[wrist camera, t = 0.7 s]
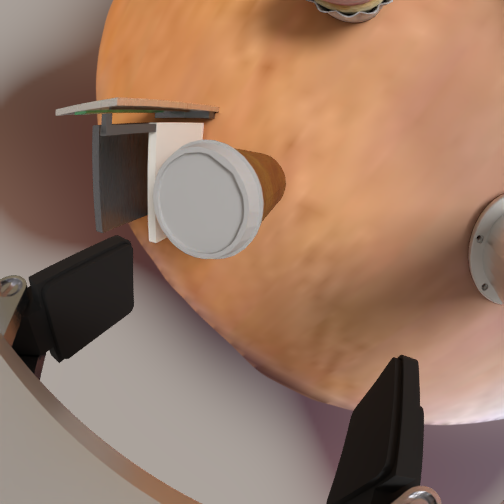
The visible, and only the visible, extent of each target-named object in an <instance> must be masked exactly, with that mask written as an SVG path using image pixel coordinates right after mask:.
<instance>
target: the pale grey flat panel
mask: <svg viewBox="0 0 504 504" xmlns="http://www.w3.org/2000/svg"><path fill="white" fill-rule="evenodd" d="M203 127H204V123H176V122H160V123H149V124H127V125H112V113H106V114H102V125H101V133H100V136H109V135H120V134H132V133H146V132H149V143H148V230H149V241H151V242H154V243H157V242H159V241H161V240H163V239H165V238H167V236H166V234H165V233H164V232H163V230H162V229H161V226H160V224H159V222H158V220H157V217H156V214H155V209H154V204H153V189H154V183H155V179H156V176H157V174H158V171H159V170H160V168H161V166H162V164H163V163H164V162H165V161H166V160H167V159H168V158H169V157H170V156H171V155H172V154H173V153H174V152H175V151H177V150H178V149H179V148H180V147H181V146H183V145H186V144H188V143H190V142H193V141H197V140H203Z"/></svg>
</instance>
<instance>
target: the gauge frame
mask: <svg viewBox="0 0 504 504" xmlns="http://www.w3.org/2000/svg"><path fill="white" fill-rule="evenodd" d="M215 112H219V107H217V106H210V105H203V104H195V103H186V102H177V101H166V100H154V99H138V98H112V99H106V100H100V101H95V102H89V103H84V104H79V105H74V106H70V107H65V108H61V109H57V110H56V116H58V115H69V114H75V115H80V114H81V115H82V114H100V113H155V118H213V119H214V118H215ZM127 124H149V123H125V124H112V125H127ZM100 133H101V125H95V126H93V141H92V142H93V143H92V151H93V152H92V159H93V192H94V208H95V220H96V231H98V232H101V233H104V232H106V231H109V230H111V229H113V228H116V227H118V226H121V225H123V224H125V223H128V222H131V221H133V220H136V219H138V218H141V217H143V216H146V215H148V143H149V132H146V133H132V134H120V135H109V136H100Z"/></svg>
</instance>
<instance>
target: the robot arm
mask: <svg viewBox="0 0 504 504" xmlns="http://www.w3.org/2000/svg"><path fill="white" fill-rule="evenodd" d="M478 235H479V238H477V236H478ZM468 260H469V268H470V272H471V275H472V279H473V281H474V283H475V285H476V286H477V288H478V290H479V291H480V293H481V294H482V295H483V296H484V297H486V298H487V299H488V300H490V301H492V302H493V303H497V304H500V305H504V194H502V195H500V196H499V197H497V198H496V199H494V200H493V201H492V202H491V203H490V204H489V205H488V206H487V207H486V208H485V209H484V211H483V212H482V213H481V215H480V216H479V218H478V220H477V222H476V224H475V226H474V229H473V232H472V235H471V238H470V244H469V255H468ZM29 282H30V287H28V288H27V283H26V281H25V279H24V278H22V277H21V276H17V275H11V276H7V277H4V278H2V279H0V504H201V503H199V502H197V501H195V500H193V499H192V498H190V497H188V496H186V495H184V494H182V493H180V492H179V491H177V490H175V489H173V488H171V487H170V486H168V485H167V484H165V483H163V482H162V481H160V480H158V479H157V478H155V477H154V476H152V475H151V474H149V473H147V472H146V471H144V470H143V469H141V468H140V467H138V466H137V465H136V464H134V463H133V462H131V461H130V460H128V459H127V458H126V457H124V456H123V455H122V454H120V453H119V452H117V451H116V450H115V449H114V448H112V447H111V446H110V445H108V444H107V443H106V442H104V441H103V440H102V439H101V438H100V437H98V436H97V435H96V434H95V433H94V432H92V431H91V430H90V429H89V428H88V427H87V426H85V425H84V424H83V423H82V422H81V421H80V420H79V419H78V418H76V417H75V416H74V415H73V414H72V413H71V412H70V411H69V410H68V409H67V408H66V407H65V406H64V405H63V404H62V403H61V402H60V401H59V400H58V399H57V398H56V397H55V396H54V395H53V394H52V393H51V392H50V391H49V390H48V389H47V388H46V387H45V386H44V385H43V384H42V383H41V382H40V377H41V372H42V368H43V364H44V359H45V356H46V352H47V351H48V350H50V353H51V355H52V356H53V357H54V358H55V359H56V360H57V361H58V362H59V363H60V362H61V361H62V360H64V359H68V358H70V357H71V356H73V355H74V354H75V353H77V352H78V351H79V350H81V349H82V348H83V347H85V346H86V345H87V344H89V343H90V342H91V341H93V340H94V339H95V338H97V337H98V336H99V335H101V334H102V333H103V332H105V331H106V330H107V329H109V328H110V327H111V326H113V325H114V324H116V323H117V322H118V321H120V320H121V319H122V318H124V317H125V316H126V315H128V314H129V313H130V312H131V311H132V309H133V307H134V298H133V297H134V296H133V248H132V247H131V243H130V241H128V240H126V239H124V238H122V237H120V236H113V237H111V238H108V239H106V240H104V241H102V242H100V243H97V244H95V245H93V246H91V247H89V248H86V249H84V250H82V251H80V252H78V253H76V254H74V255H72V256H70V257H68V258H66V259H63V260H62V261H59V262H57V263H55V264H53V265H51V266H49V267H47V268H45V269H44V270H41V271H40V272H37V273H36V274H34V275H32V276H30V277H29ZM483 284H484V285H483ZM423 432H424V412H423V408H422V407H421V406H420V386H419V365H418V361H417V360H415V359H412V358H410V357H407V356H404V355H400V356H399V357H398V358H395V357H393V358H392V359H391V360H390V362H389V363H388V365H387V366H386V368H385V369H384V371H383V372H382V373H381V375H380V376H379V378H378V379H377V380H376V382H375V383H374V384H373V386H372V387H371V388H370V390H369V391H368V392H367V394H366V395H365V396H364V398H363V399H362V400H361V401H360V403H359V404H358V405H357V406H356V408H355V409H354V411H353V413H352V416H351V419H350V423H349V428H348V432H347V436H346V439H345V444H344V447H343V451H342V454H341V458H340V462H339V465H338V468H337V472H336V475H335V478H334V481H333V484H332V487H331V490H330V493H329V496H328V499H327V504H442V503H441V499H440V497H439V496H438V494H437V493H436V492H435V491H434V490H433V489H431V488H428V487H426V486H420V480H421V469H422V457H423V435H424V434H423ZM500 504H504V500H503V501H502V502H501V503H500Z"/></svg>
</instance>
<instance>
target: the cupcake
mask: <svg viewBox="0 0 504 504" xmlns="http://www.w3.org/2000/svg"><path fill="white" fill-rule="evenodd" d="M306 1H309V2H312V3H315V5H316V7H317V9H318V10H319V11H320V12H324V13H328V14H329V15H331V16H333V17H334V18H336V19H339V20H341V21H345V22H363V21H367V20H369V19H371V18H373V17H375V16H376V15H377V14H378V12H379V11H380V9H381V8H382V7H383V6H384V5H386V4H389V3H391V2H393V0H306Z"/></svg>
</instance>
